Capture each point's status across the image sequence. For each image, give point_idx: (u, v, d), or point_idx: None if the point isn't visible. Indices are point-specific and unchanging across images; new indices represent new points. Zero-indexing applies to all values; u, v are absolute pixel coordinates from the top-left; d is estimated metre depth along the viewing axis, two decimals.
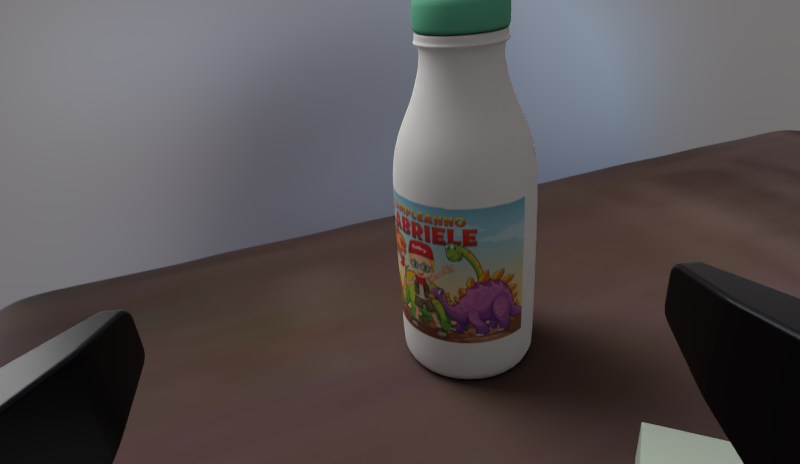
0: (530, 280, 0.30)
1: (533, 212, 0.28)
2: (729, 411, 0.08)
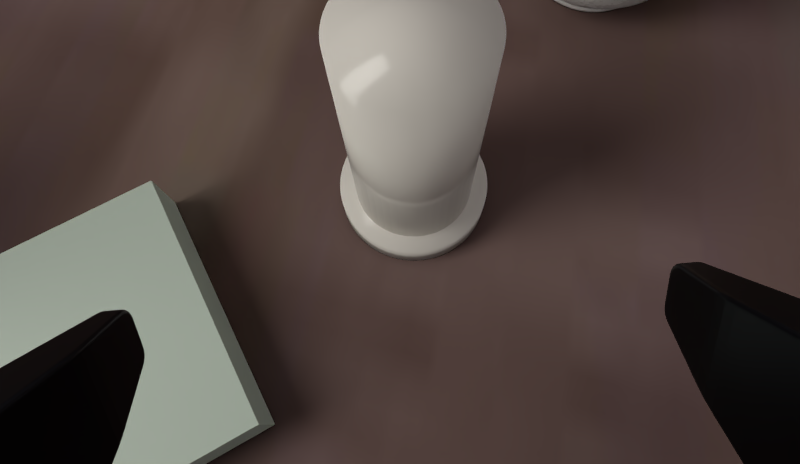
0: None
1: None
2: (729, 411, 0.08)
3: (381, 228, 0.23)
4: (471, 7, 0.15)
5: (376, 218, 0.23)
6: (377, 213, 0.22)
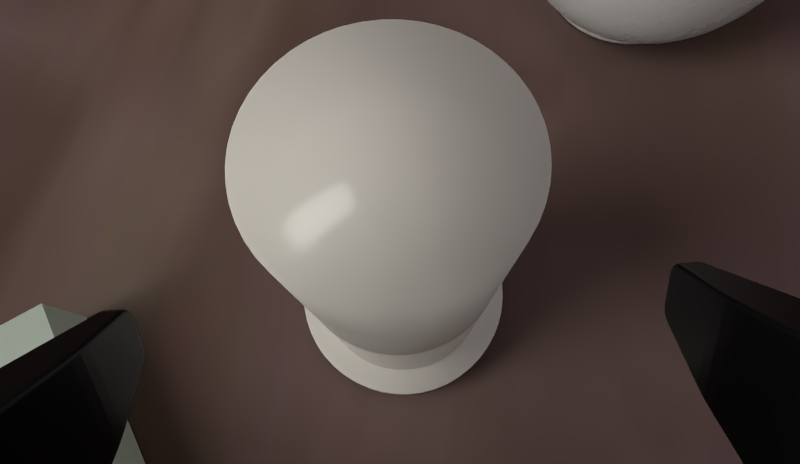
0: None
1: None
2: (729, 411, 0.08)
3: (360, 358, 0.17)
4: (488, 110, 0.09)
5: (352, 351, 0.16)
6: (352, 350, 0.16)
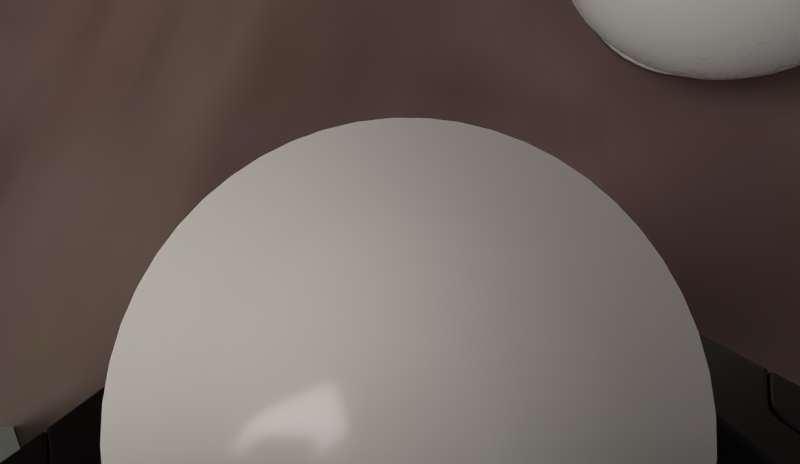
0: None
1: None
2: None
3: None
4: (589, 297, 0.05)
5: None
6: None
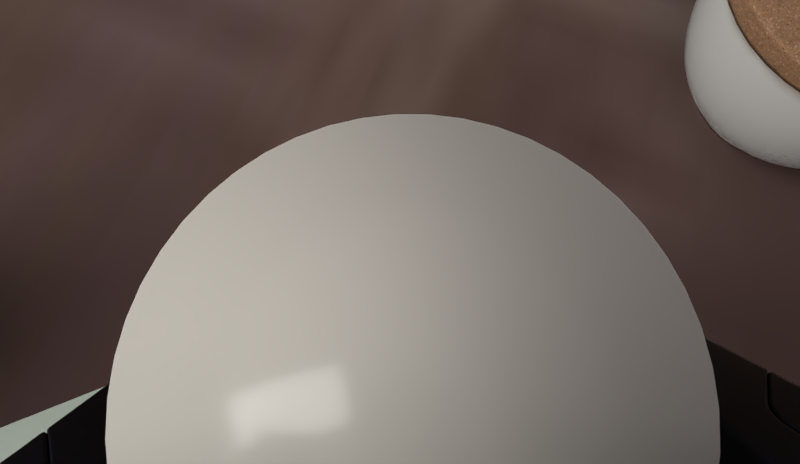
0: None
1: None
2: None
3: None
4: (592, 293, 0.05)
5: None
6: None
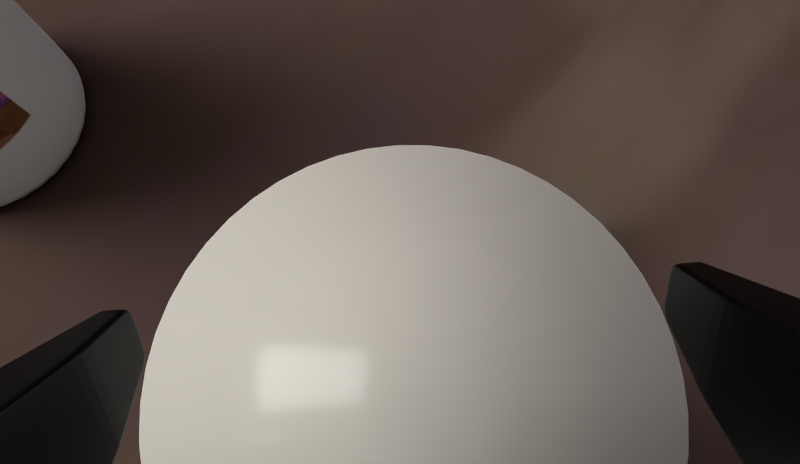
0: None
1: None
2: (729, 411, 0.08)
3: None
4: (575, 309, 0.05)
5: None
6: None
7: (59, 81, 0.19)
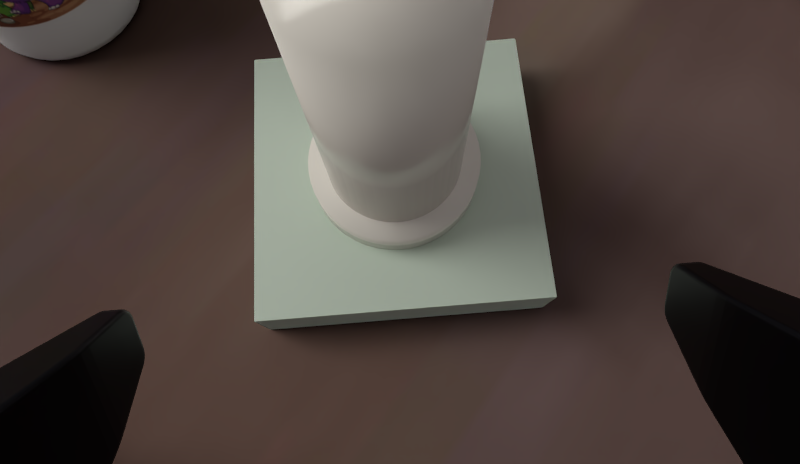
0: None
1: None
2: (729, 411, 0.08)
3: (356, 213, 0.20)
4: None
5: (349, 201, 0.19)
6: (349, 195, 0.18)
7: None
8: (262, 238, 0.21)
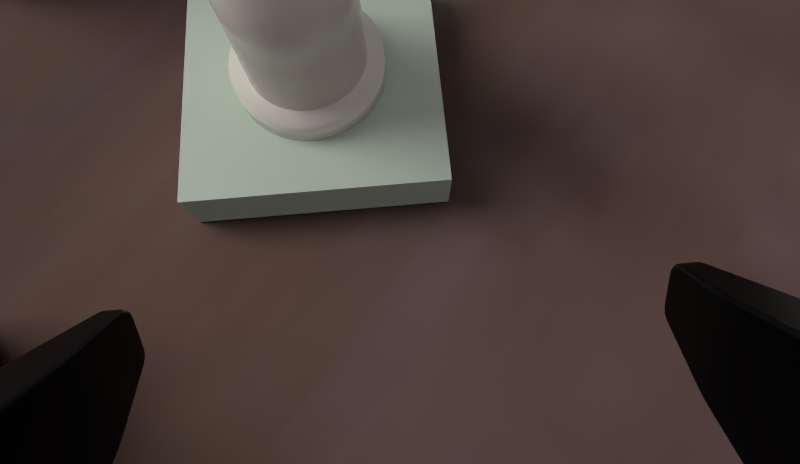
0: None
1: None
2: (729, 411, 0.08)
3: (270, 103, 0.22)
4: None
5: (260, 89, 0.21)
6: (257, 79, 0.20)
7: None
8: (188, 132, 0.23)
